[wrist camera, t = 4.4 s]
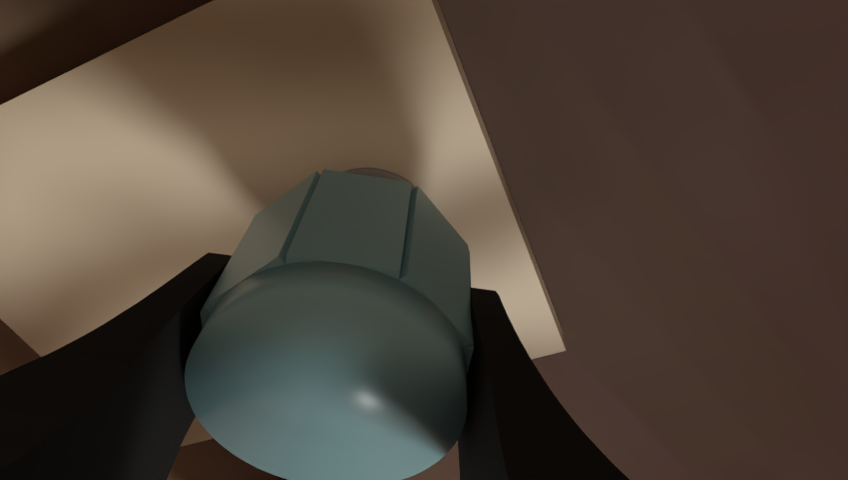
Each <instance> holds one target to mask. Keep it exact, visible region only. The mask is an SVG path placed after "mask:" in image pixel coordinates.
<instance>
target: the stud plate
mask: <svg viewBox="0 0 848 480" xmlns="http://www.w3.org/2000/svg"><path fill="white" fill-rule="evenodd" d="M323 169H325V170H332V171H339V172H346V173H352V174H359V175H366V176H373V177H380V178H386V179H393V180H400V181H407V182H412V186H411V190H412V189H413V188H415V187H417V186H419V187H420V188H421V190H422V191H423V192H424V193H425V194H426V196H427V197H428V198H429V199H430V200H431V202H432V203H433V204H434V205H435V206H436V208H437V209H438V210H439V211H440V212H441V214H442V215H443V216H444V217H445V218H446V219H447V221H448V222H449V223H450V224H451V225H452V227H453V228H454V229H455V230H456V231H457V233H458V234H459V235H460V236H461V237H462V239H463V240H464V241H465V242H466V243H467V244H468V249H469V251H470V270H471V288H479V289H486V290H494V291H496V292H497V293H498V295H499V296H500V299H501V301H502V304H503V306H504V308H505V310H506V313H507V315H508V317H509V319H510V321H511V323H512V325H513V327H514V329H515V331H516V333H517V335H518V337H519V339H520V341H521V342H522V344H523V346H524V348H525V349H526V351H527V353H528V355H529V356H530V358H531V359H534V358H538V357H542V356H546V355H550V354H554V353H558V352H562V351H566V348H565V344H564V339H563V335H562V330H561V326H560V323H559V321H558V318H557V316H556V313H555V310H554V308H553V305H552V302H551V300H550V297H549V294H548V292H547V289H546V286H545V284H544V281H543V279H542V276H541V273H540V271H539V268H538V265H537V263H536V260H535V257H534V255H533V252H532V249H531V247H530V244H529V242H528V239H527V236H526V234H525V231H524V228H523V226H522V223H521V220H520V218H519V215H518V213H517V210H516V207H515V205H514V202H513V199H512V197H511V194H510V191H509V189H508V186H507V183H506V181H505V178H504V176H503V173H502V170H501V168H500V165H499V162H498V160H497V157H496V154H495V152H494V149H493V146H492V144H491V141H490V139H489V136H488V133H487V131H486V128H485V125H484V123H483V120H482V117H481V115H480V112H479V110H478V107H477V104H476V102H475V99H474V96H473V94H472V91H471V88H470V86H469V83H468V80H467V78H466V75H465V73H464V70H463V67H462V65H461V62H460V59H459V57H458V54H457V51H456V49H455V46H454V44H453V41H452V38H451V36H450V33H449V30H448V28H447V25H446V22H445V20H444V17H443V14H442V12H441V9H440V7H439V4H438V1H437V0H212V1H210V2H208V3H206V4H204V5H202V6H200V7H198V8H196V9H194V10H192V11H190V12H188V13H186V14H184V15H182V16H180V17H178V18H176V19H174V20H172V21H170V22H168V23H166V24H164V25H162V26H159V27H157V28H155V29H153V30H151V31H149V32H147V33H145V34H143V35H141V36H139V37H137V38H135V39H133V40H131V41H129V42H127V43H125V44H123V45H121V46H119V47H117V48H115V49H113V50H111V51H109V52H107V53H105V54H102V55H100V56H98V57H96V58H94V59H92V60H90V61H88V62H86V63H84V64H82V65H80V66H78V67H76V68H74V69H72V70H70V71H68V72H66V73H64V74H62V75H60V76H58V77H56V78H54V79H52V80H50V81H47V82H45V83H43V84H41V85H39V86H37V87H35V88H33V89H31V90H29V91H27V92H25V93H23V94H21V95H19V96H17V97H15V98H13V99H11V100H9V101H7V102H5V103H3V104H1V105H0V319H1V320H2V321H3V322H4V323H5V324H6V325H7V326H9V327H10V328H11V329H12V330H13V331H14V332H15V333H16V334H17V335H18V336H19V337H20V338H21V339H22V340H23V341H25V342H26V343H27V344H28V345H29V346H30V347H31V348H32V349H33V350H34V351H35V352H36V353H37V354H38V355H39V356H40V357H42V356H45V355H47V354H49V353H51V352H53V351H55V350H57V349H59V348H61V347H63V346H65V345H67V344H69V343H71V342H72V341H74V340H76V339H78V338H80V337H82V336H84V335H86V334H87V333H89V332H91V331H93V330H94V329H96V328H98V327H100V326H101V325H103V324H105V323H106V322H108V321H109V320H111V319H113V318H114V317H116V316H117V315H119V314H120V313H122V312H124V311H125V310H127V309H128V308H130V307H131V306H133V305H135V304H136V303H138V302H139V301H141V300H142V299H144V298H145V297H147V296H148V295H149V294H151V293H152V292H154V291H155V290H157V289H158V288H159V287H161V286H162V285H164V284H165V283H166V282H168V281H169V280H171V279H172V278H173V277H175V276H176V275H178V274H179V273H180V272H182V271H183V270H184V269H186V268H187V267H189V266H190V265H191V264H193V263H194V262H195V261H197V260H198V259H200V258H201V257H202V256H204V255H205V254H207V253H208V252H209V253H217V254H224V255H233V253H234V251H235V250H236V248H237V246H238V245H239V243H240V241H241V239H242V238H243V236H244V234H245V232H246V231H247V229H248V227H249V225H250V224H251V222H252V220H253V218H254V217H255V215H256V214H258V213H259V212H260V211H262V210H263V209H265V208H266V207H267V206H269V205H270V204H271V203H273V202H274V201H276V200H277V199H278V198H280V197H281V196H283V195H284V194H285V193H287V192H288V191H289V190H291V189H292V188H294V187H295V186H296V185H298V184H299V183H301V182H302V181H303V180H305V179H306V178H307V177H309V176H310V175H312V174H313V173H314V172H316V171H318V172H319V174H320V175H321V174H322V171H323ZM210 439H214V438H213V437H212V436H211V435H210V434H209V433H208V432H207V431H206V429H205V428H204V427H203V426H202V425H201V423H200V422H199V420H198V419H197V417H196V416H195V418H194V420H193V422H192V424H191V426H190V428H189V430H188V432H187V434H186V436H185V437H184V440H183V442H182V444H181V446H180V447H182V446H186V445H190V444H194V443H198V442H202V441H206V440H210Z"/></svg>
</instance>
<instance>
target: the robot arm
mask: <svg viewBox="0 0 848 480" xmlns="http://www.w3.org/2000/svg"><path fill="white" fill-rule="evenodd" d="M231 257H232V255H224V254H217V253H209V252H208V253H207V254H205V255H204V256H202V257H201V258H200V259H198V260H197V261H195V262H194V263H193V264H191V265H190V266H189V267H187V268H186V269H184V270H183V271H182V272H180V273H179V274H178V275H176V276H175V277H173V278H172V279H171V280H169V281H168V282H166V283H165V284H164V285H162V286H161V287H159V288H158V289H157V290H155V291H154V292H152V293H151V294H149V295H148V296H147V297H145V298H144V299H142V300H141V301H139V302H138V303H136V304H135V305H133V306H131V307H130V308H128V309H127V310H125V311H124V312H122V313H120V314H119V315H117V316H116V317H114V318H113V319H111V320H109V321H108V322H106V323H105V324H103V325H101V326H100V327H98V328H96V329H94V330H93V331H91V332H89V333H87V334H86V335H84V336H82V337H80V338H78V339H76V340H74V341H72V342H71V343H69V344H67V345H65V346H63V347H61V348H59V349H57V350H55V351H53V352H51V353H49V354H47V355H45V356H42V357H40V358H38V359H36V360H34V361H31V362H29V363H27V364H25V365H23V366H20V367H18V368H16V369H14V370H11V371H9V372H7V373H5V374H2V375H0V480H166V479H167V477H168V474H169V472H170V469H171V467H172V464H173V462H174V459H175V457H176V455H177V452H178V450H179V448H180V446H181V444H182V442H183V440H184V437H185V436H186V434H187V432H188V430H189V428H190V426H191V424H192V422H193V420H194V418H195V416H196V415H195V414H194V412H193V410H192V408H191V405H190V403H189V401H188V397H187V393H186V389H185V375H184V374H185V368H186V361H187V359H188V356H189V353H190V351H191V349H192V347H193V345H194V343H195V341H196V339H197V338H198V336H199V334H200V332H201V330H202V325H201V316H200V312H201V310H202V308H203V305H204V304H205V302H206V300H207V299H208V297H209V295H210V293H211V292H212V290H213V288H214V286H215V285H216V283H217V281H218V279H219V278H220V276H221V274H222V272H223V271H224V269H225V267H226V265H227V264H228V262H229V260H230V258H231ZM470 302H471V321H472V327H473V346H474V350H473V353H472V357H471V361H470V365H469V369H468V372H467V376H466V381H467V415H466V421H465V425H464V427H463V430H462V432H461V435H460V436H459V438H458V449H459V465H460V480H629V479H628V478H627V477H626V476H625V475H624V474H623V473H622V472H621V471H620V470H619V469H618V468H617V467H616V466H615V465H614V464H613V463H612V462H611V461H610V460H609V459H608V458H607V457H606V456H605V455H604V454H603V453H602V452H601V451H600V450H599V449H598V448H597V447H596V445H595V444H594V443H593V442H592V441H591V440H590V439H589V438H588V437H587V436H586V435H585V434H584V432H583V431H582V430H581V429H580V428H579V426H578V425H577V424H576V423H575V422H574V420H573V419H572V418H571V417H570V415H569V414H568V413H567V411H566V410H565V409H564V408H563V406H562V405H561V404H560V402H559V401H558V400H557V398H556V397H555V395H554V394H553V392H552V391H551V390H550V388H549V387H548V385H547V384H546V382H545V381H544V379H543V378H542V376H541V374H540V373H539V371H538V370H537V368H536V367H535V365H534V363H533V362H532V360H531V358H530V356H529V355H528V353H527V351H526V349H525V348H524V346H523V344H522V342H521V341H520V339H519V337H518V335H517V333H516V331H515V329H514V327H513V325H512V323H511V321H510V319H509V317H508V315H507V313H506V310H505V308H504V306H503V304H502V301H501V299H500V296H499V295H498V293H497V292H496V291H494V290H486V289H479V288H471V287H470Z"/></svg>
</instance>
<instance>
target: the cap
mask: <svg viewBox="0 0 848 480" xmlns="http://www.w3.org/2000/svg"><path fill="white" fill-rule="evenodd" d="M411 186H412V182H407V181H400V180H393V179H386V178H380V177H373V176H366V175H359V174H352V173H346V172H339V171H332V170H325V169H323V171H322V174H321V175H320V174H319V172H318V171H316V172H314V173H313V174H312V175H310V176H309V177H307V178H306V179H305V180H303V181H302V182H301V183H299V184H298V185H296V186H295V187H294V188H292V189H291V190H289V191H288V192H287V193H285V194H284V195H283V196H281V197H280V198H278V199H277V200H276V201H274V202H273V203H271V204H270V205H269V206H267V207H266V208H265V209H263V210H262V211H260V212H259V213H258V214H256V215H255V217H254V218H253V220H252V222H251V224H250V225H249V227H248V229H247V231H246V232H245V234H244V236H243V238H242V239H241V241H240V243H239V245H238V246H237V248H236V250H235V251H234V253H233V255H232V257H231V258H230V260H229V262H228V264H227V265H226V267H225V269H224V271H223V272H222V274H221V276H220V278H219V279H218V281H217V283H216V285H215V286H214V288H213V290H212V292H211V293H210V295H209V297H208V299H207V300H206V302H205V304H204V305H203V308H202V310H201V312H200V316H201V325H202V330H201V332H200V334H199V336H198V338H197V339H196V341H195V343H194V345H193V347H192V349H191V351H190V353H189V356H188V359H187V361H186V368H185V374H184V375H185V389H186V393H187V397H188V401H189V403H190V405H191V408H192V410H193V412H194V414H195V415H196V417H197V419H198V420H199V422H200V423H201V425H202V426H203V427H204V428H205V429H206V431H207V432H208V433H209V434H210V435H211V436H212V437H213V438H214V439H215V440H216V441H217V442H218V443H219V444H220V445H222V446H223V447H224V448H225V449H227V450H228V451H229V452H231V453H232V454H233V455H235V456H237V457H238V458H240V459H241V460H243V461H245V462H246V463H248V464H250V465H252V466H254V467H256V468H258V469H260V470H263V471H265V472H268V473H270V474H272V475H275V476H278V477H281V478H284V479H287V480H403V479H405V478H408V477H411V476H413V475H415V474H418V473H420V472H422V471H424V470H426V469H427V468H429V467H430V466H432V465H433V464H435V463H436V462H438V461H439V460H440V459H441V458H442V457H444V456H445V455H446V454H447V453H448V452H449V450H450V449H451V448H452V447H453V446H454V445H455V443H456V441H457V440H458V438H459V436H460V435H461V432H462V430H463V427H464V425H465V421H466V415H467V381H466V376H467V372H468V369H469V365H470V361H471V357H472V353H473V350H474V346H473V327H472V321H471V302H470V287H471V270H470V251H469V249H468V244H467V243H466V242H465V241H464V240H463V239H462V237H461V236H460V235H459V234H458V233H457V231H456V230H455V229H454V228H453V227H452V225H451V224H450V223H449V222H448V221H447V219H446V218H445V217H444V216H443V215H442V214H441V212H440V211H439V210H438V209H437V208H436V206H435V205H434V204H433V203H432V202H431V200H430V199H429V198H428V197H427V196H426V194H425V193H424V192H423V191H422V190H421V188H420V187H419V186H417V187H415V188H413V189H412V190H411Z"/></svg>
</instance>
